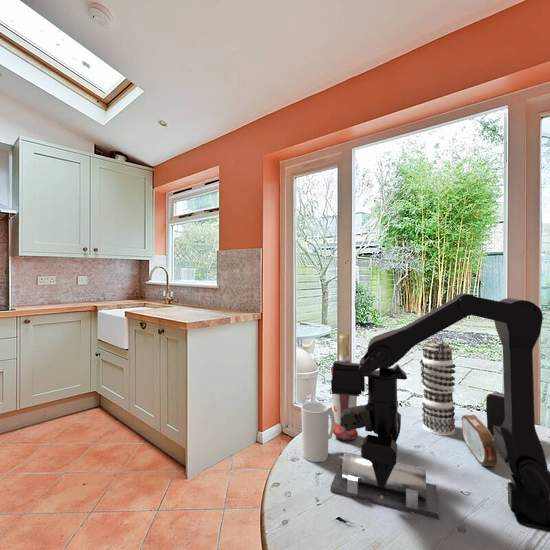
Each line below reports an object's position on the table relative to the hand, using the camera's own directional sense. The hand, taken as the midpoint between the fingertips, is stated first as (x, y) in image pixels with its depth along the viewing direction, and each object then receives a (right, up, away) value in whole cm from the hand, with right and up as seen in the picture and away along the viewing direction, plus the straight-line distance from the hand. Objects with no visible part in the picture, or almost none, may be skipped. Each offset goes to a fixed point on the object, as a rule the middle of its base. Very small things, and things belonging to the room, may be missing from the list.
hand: (383, 473), depth 67 cm
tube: (0, -3, 0) cm, 3 cm away
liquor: (-3, -4, +23) cm, 24 cm away
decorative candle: (+25, -4, +27) cm, 37 cm away
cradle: (0, -4, 0) cm, 4 cm away
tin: (+28, -4, +13) cm, 31 cm away
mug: (-11, -4, +15) cm, 19 cm away
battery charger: (+40, -4, +23) cm, 46 cm away
